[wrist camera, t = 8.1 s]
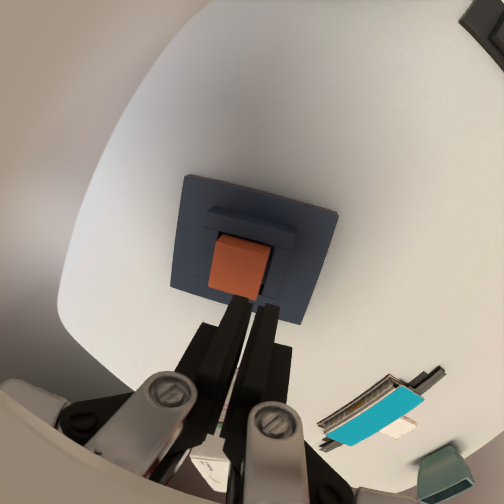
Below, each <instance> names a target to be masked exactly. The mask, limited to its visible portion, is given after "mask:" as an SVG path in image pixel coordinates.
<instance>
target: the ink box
mask: <svg viewBox="0 0 504 504" xmlns="http://www.w3.org/2000/svg"><path fill="white" fill-rule="evenodd" d="M237 373H238V369H236V371H235V374H234V377H233V380H232V383H231V386H230V389H229V392H228V395H227V398H226V401H225V404H224V407H223V410H222V413H221V416H220V419H219V422H218V425H217V428H216V431H215V433H214V436H213V435H210V434H207V437H206V440H205V442H204V441H203V443H202V445H199V446H196V447H193V449H192V451H191V454H190V457H191V461H192V462H193V463H194V465H195V466H196V468H197V469H198V470H199V472H200V473H201V474H202V476H203V477H204V479H206V481H207V482H208V484H209V485H210V486H211V487H212V489H214V490H215V491H219V492H226V491H227V480H228V469H229V463H230V461H229V459H228V458H227V457H226V455H225V454H224V452H223V451H222V449H223V445H224V442H225V439H224V438H220V437H219V435H220V432H221V428H222V425H223V421H224V418H225V414H226V410H227V407H228V403H229V400H230V396H231V393H232V389H233V386H234V382H235V379H236V376H237Z"/></svg>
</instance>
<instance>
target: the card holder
mask: <svg viewBox="0 0 504 504" xmlns="http://www.w3.org/2000/svg"><path fill="white" fill-rule="evenodd" d="M441 369H442V368H441V367H440V366H439V367H438V368H436V369H435V370H434V371H433V372H432V373H430V374H429V375H428V374H427V373H425V372H422V373H421V374H420V375H419V376H417V377H416V378H415V379H414V380H412V381H411V382H410V383H409V384H407V385H406V386H404V385H405V384H404V383H402V382H401V381H399V380H398V379H396V378H395V377H393V376H391V375H390V374H388V375H387V376H386V377H385V378H383V379H382V380H381V381H379V382H378V383H377V384H375V385H374V386H373V387H371V388H370V389H369V390H367V391H366V392H364V393H363V394H362V395H360V396H359V397H357V398H356V399H354V400H353V401H352V402H350V403H349V404H347V405H346V406H344V407H343V408H341V409H340V410H338V411H336V412H335V413H333V414H332V415H330V416H329V417H327V418H325V419H324V420H322V421H320V422H319V423H317V424H318V426H319V427H322V428H324V434H325V433H327V432H328V433H327V434H326V438H324V439H322V440H323V441H326V442H327V443H325V444H323V445H321V446H319V447H322V448H321V449H319V450H321V451H323V450H324V452H326V453H327V452H329V451H331V450H333V449H335V448H337V447H339V446H341V445H343V444H346V445H348V446H353V445H355V444H357V443H359V442H360V441H362V440H364V439H366V438H368V437H369V436H371V435H373V434H375V433H376V432H381V433H383V434H385V435H388V436H390V437H393V438H395V439H398V438H399V437H401V436H403V435H404V434H406V433H408V432H409V431H411V430H412V429H414V428H415V427H417V423H416V422H414V421H412V420H410V419H408V418H406V417H404V416H403V415H405V414H406V413H408V412H409V411H411V410H412V409H413V408H415V407H416V406H418V405H419V404H420V403H422V402H423V401H424V398H423V397H421V396H420V395H422V394H423V393H424V392H426V391H427V390H428V389H429V388H431V387H432V386H433V385H434V384H435V383H437V382H438V381H439V380H440V379H441V378H443V377H444V376H445V375H446V373H445V370H443V369H442V370H441ZM322 430H323V429H322ZM341 447H342V446H341ZM325 449H326V450H325Z"/></svg>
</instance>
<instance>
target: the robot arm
mask: <svg viewBox="0 0 504 504" xmlns="http://www.w3.org/2000/svg"><path fill="white" fill-rule="evenodd" d="M248 301H249V298H247V297H243V296H240V295H236V294H234V295H233V297H232V299H231V301H230V303H229V306H228V308H227V310H226V312H225V314H224V316H223V318H222V320H221V322H220V324H219V326H218V327H217V326H213V325H210V324H207V323H204V322H203V323H202V324H201V325H200V327H199V328H198V330H197V332H196V334H195V335H194V337H193V339H192V341H191V342H190V344H189V346H188V348H187V350H186V351H185V353H184V355H183V357H182V358H181V360H180V362H179V364H178V365H177V367H176V369H175V371H174V372H172V371H163V372H158V373H155V374H153V375H152V376H150V377H149V378H148V379H147V380H146V381H145V382H144V383H143V384H142V385H141V386H140V387H139V388H138V389H137V390H136V391H135V392H131V393H126V394H121V395H115V396H110V397H104V398H99V399H92V400H86V401H79V402H75V403H69V402H67V400H66V398H63V397H60V396H58V395H55V394H52V393H50V392H47V391H45V390H42V389H40V388H38V387H35V386H33V385H30V384H28V383H26V382H24V381H22V380H19V379H8V380H7V381H5V382H3V383H2V384H1V385H0V504H220V503H216V502H213V501H209V500H205V499H202V498H199V497H195V496H192V495H189V494H186V493H183V492H180V491H177V490H174V489H171V488H168V487H166V486H167V485H168V483H169V482H170V480H171V479H172V477H173V476H174V474H175V473H176V471H177V470H178V468H179V467H180V465H181V464H182V462H183V460H184V459H185V457H186V456H187V454H188V453H189V450H190V448H193V447H196V446H199V445H202V443H203V441H204V442H205V440H206V437H207V434H210V435H213V436H214V433H215V431H216V428H217V425H218V422H219V419H220V416H221V413H222V410H223V407H224V404H225V401H226V398H227V395H228V392H229V389H230V386H231V383H232V380H233V377H234V374H235V371H236V368H237V365H238V362H239V358H240V354H241V351H242V347H243V343H244V339H245V336H246V332H247V328H248V324H249V320H250V317H251V313H252V309H253V305H254V304H253V303H250V302H248ZM279 312H280V306H276V305H272V304H269V303H265V306H260V305H258V308H257V312H256V315H255V318H254V321H253V325H252V328H251V331H250V334H249V338H248V341H247V344H246V347H245V350H244V354H243V357H242V360H241V363H240V366H239V369H238V373H237V376H236V379H235V382H234V386H233V389H232V393H231V396H230V400H229V403H228V407H227V410H226V414H225V418H224V421H223V425H222V428H221V432H220V435H219V437H220V438H224V439H225V442H224V445H223V449H222V451H223V452H224V454H225V455H226V457H227V458H228V459H229V461H230V463H229V469H228V480H227V491H226V503H225V504H421V503H420V501H419V500H417V499H416V498H415V497H412V496H408V495H401V494H395V493H389V492H383V491H378V490H373V489H369V488H364V487H359V488H353V487H350V485H349V484H348V483H347V482H346V481H345V480H344V479H343V478H342V477H341V476H340V475H339V474H338V473H337V472H336V471H335V470H334V469H333V468H332V467H331V466H330V465H328V464H327V463H326V462H325V461H324V460H323V459H322V458H321V457H320V456H319V455H318V454H317V453H316V452H315V451H314V450H313V449H312V447H311V446H310V445H309V444H308V443H307V442H306V441H305V440H304V436H303V427H302V421H301V418H300V416H299V415H298V413H297V412H296V411H295V410H294V409H293V408H291V407H290V406H288V405H286V402H287V393H288V385H289V376H290V367H291V358H292V347H289V346H285V345H281V344H277V343H274V340H275V334H276V329H277V323H278V318H279Z"/></svg>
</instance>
